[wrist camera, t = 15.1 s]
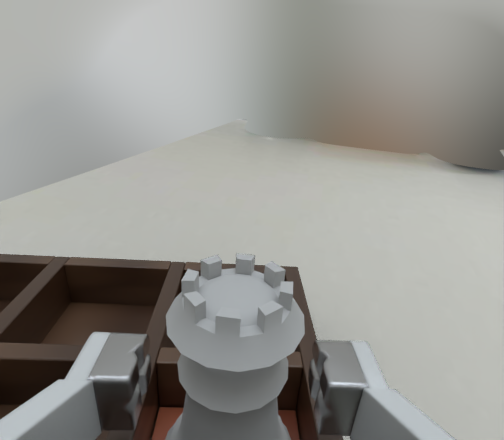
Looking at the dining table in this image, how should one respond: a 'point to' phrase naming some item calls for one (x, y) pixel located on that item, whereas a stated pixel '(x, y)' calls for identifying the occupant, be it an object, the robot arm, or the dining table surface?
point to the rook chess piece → (233, 349)
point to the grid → (120, 321)
